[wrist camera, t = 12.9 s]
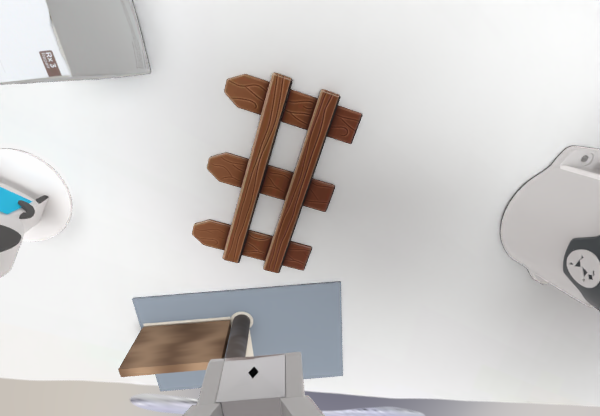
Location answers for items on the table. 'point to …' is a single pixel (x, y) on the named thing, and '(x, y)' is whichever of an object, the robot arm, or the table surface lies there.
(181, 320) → the card
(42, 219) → the white upright piece
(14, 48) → the skincare box
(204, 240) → the decorative fence
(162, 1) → the table surface
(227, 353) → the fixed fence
